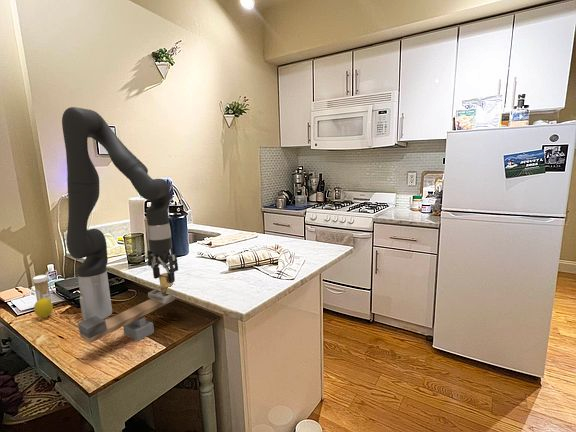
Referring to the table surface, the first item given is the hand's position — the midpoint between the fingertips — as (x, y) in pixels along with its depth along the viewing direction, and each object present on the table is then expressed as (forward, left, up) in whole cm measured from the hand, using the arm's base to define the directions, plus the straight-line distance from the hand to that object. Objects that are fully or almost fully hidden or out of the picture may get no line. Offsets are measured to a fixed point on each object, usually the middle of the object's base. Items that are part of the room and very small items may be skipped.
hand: (164, 280), depth 111 cm
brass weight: (+1, +1, -5) cm, 6 cm away
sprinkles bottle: (-43, +33, -15) cm, 57 cm away
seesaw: (-10, -6, -8) cm, 14 cm away
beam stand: (-10, -6, -15) cm, 19 cm away
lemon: (-41, +23, -15) cm, 50 cm away
